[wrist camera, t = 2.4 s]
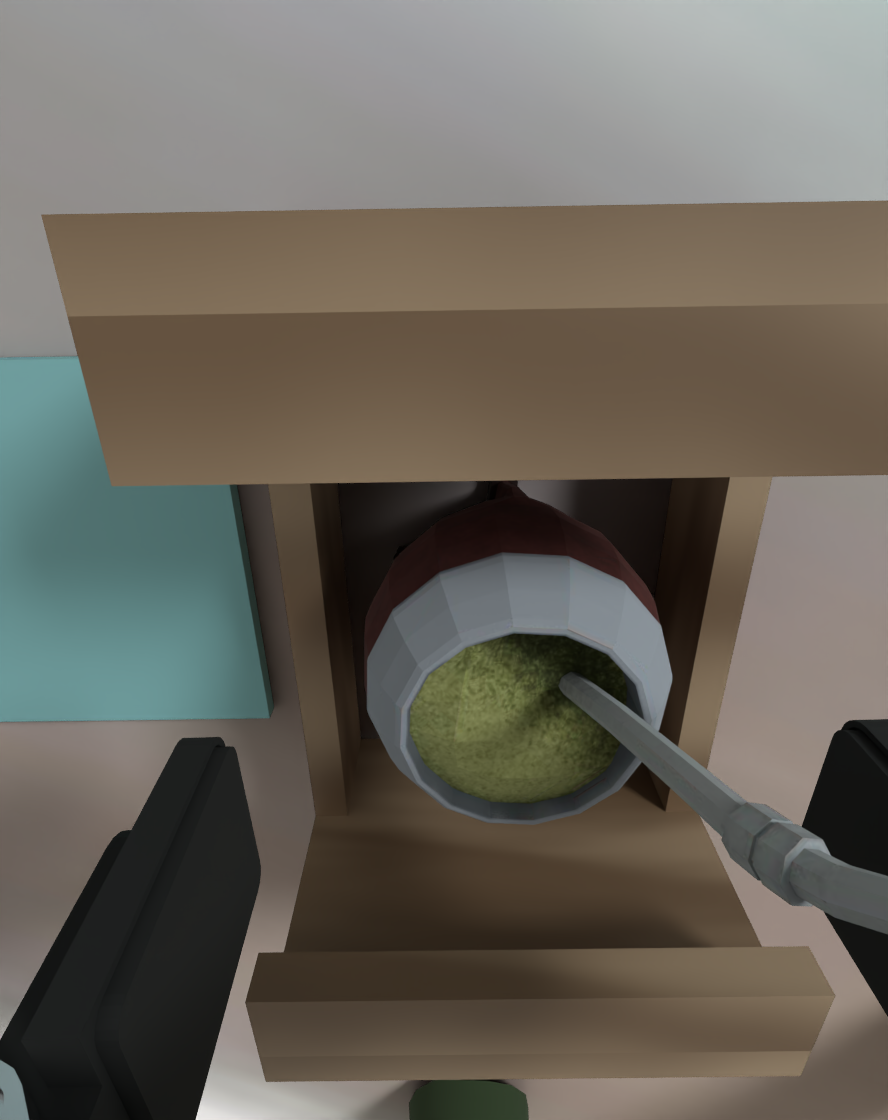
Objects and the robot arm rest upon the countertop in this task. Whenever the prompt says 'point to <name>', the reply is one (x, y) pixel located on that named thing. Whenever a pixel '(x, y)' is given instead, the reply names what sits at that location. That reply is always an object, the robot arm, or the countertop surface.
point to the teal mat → (114, 575)
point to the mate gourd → (556, 691)
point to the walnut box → (496, 455)
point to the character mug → (468, 1101)
